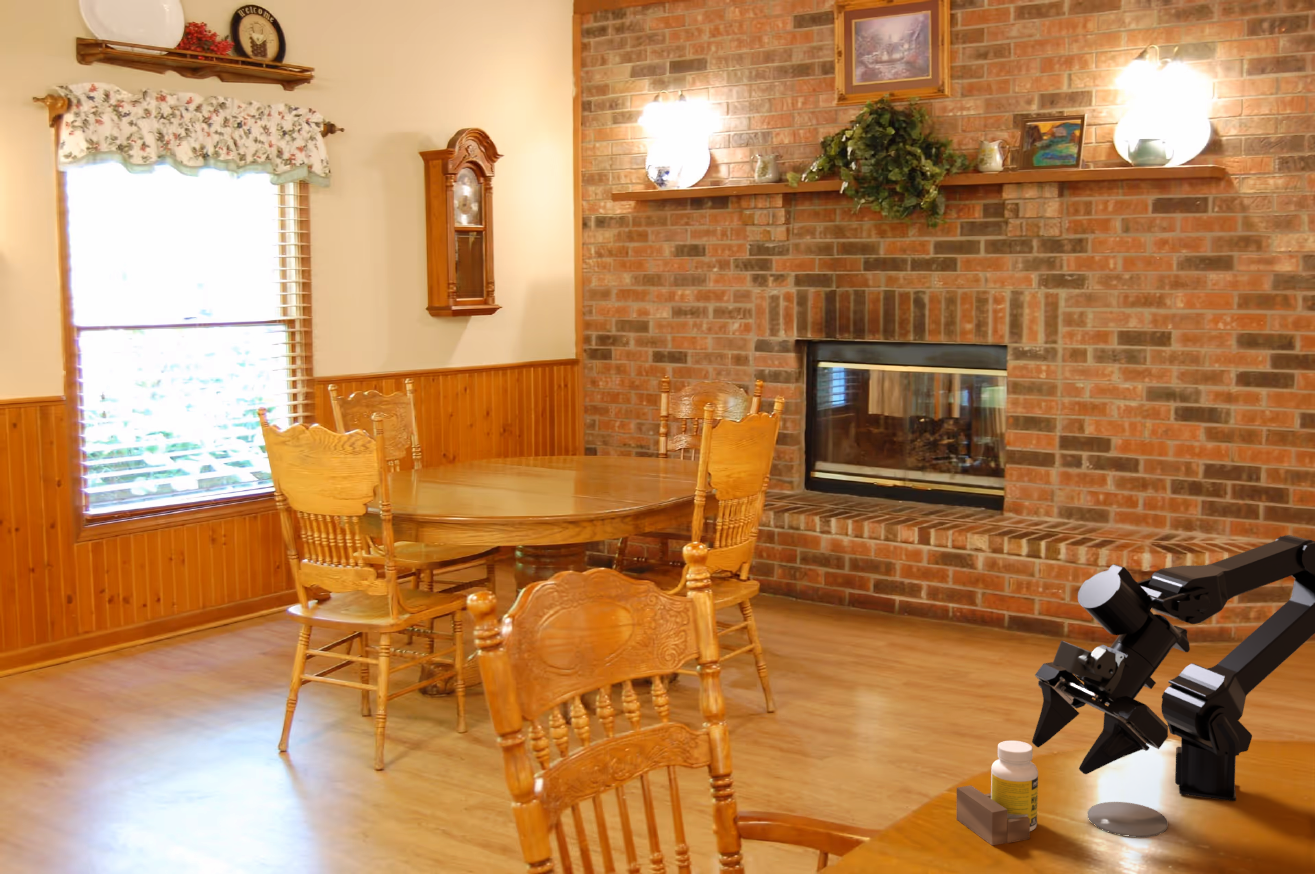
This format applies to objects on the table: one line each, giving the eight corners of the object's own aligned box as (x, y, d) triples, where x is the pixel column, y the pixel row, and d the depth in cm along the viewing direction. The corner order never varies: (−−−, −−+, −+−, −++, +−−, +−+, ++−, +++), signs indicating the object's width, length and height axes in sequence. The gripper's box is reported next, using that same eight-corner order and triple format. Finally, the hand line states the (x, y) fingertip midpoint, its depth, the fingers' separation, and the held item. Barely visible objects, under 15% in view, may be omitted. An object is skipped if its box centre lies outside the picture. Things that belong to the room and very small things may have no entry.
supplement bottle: (1039, 836, 145) (1040, 756, 144) (991, 833, 146) (992, 753, 145) (1035, 816, 151) (1036, 739, 149) (989, 813, 152) (989, 736, 150)
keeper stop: (991, 812, 152) (991, 781, 151) (1029, 838, 145) (1029, 806, 144) (956, 818, 150) (956, 787, 150) (992, 845, 143) (992, 812, 143)
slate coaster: (1167, 810, 151) (1168, 807, 151) (1167, 841, 143) (1167, 838, 143) (1090, 800, 155) (1090, 797, 155) (1084, 830, 146) (1085, 827, 146)
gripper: (1047, 599, 158) (973, 696, 156) (1147, 637, 140) (1065, 747, 138) (1099, 651, 161) (1027, 746, 159) (1203, 694, 144) (1124, 801, 142)
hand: (1057, 758), depth 149 cm, fingers open, 9 cm apart
